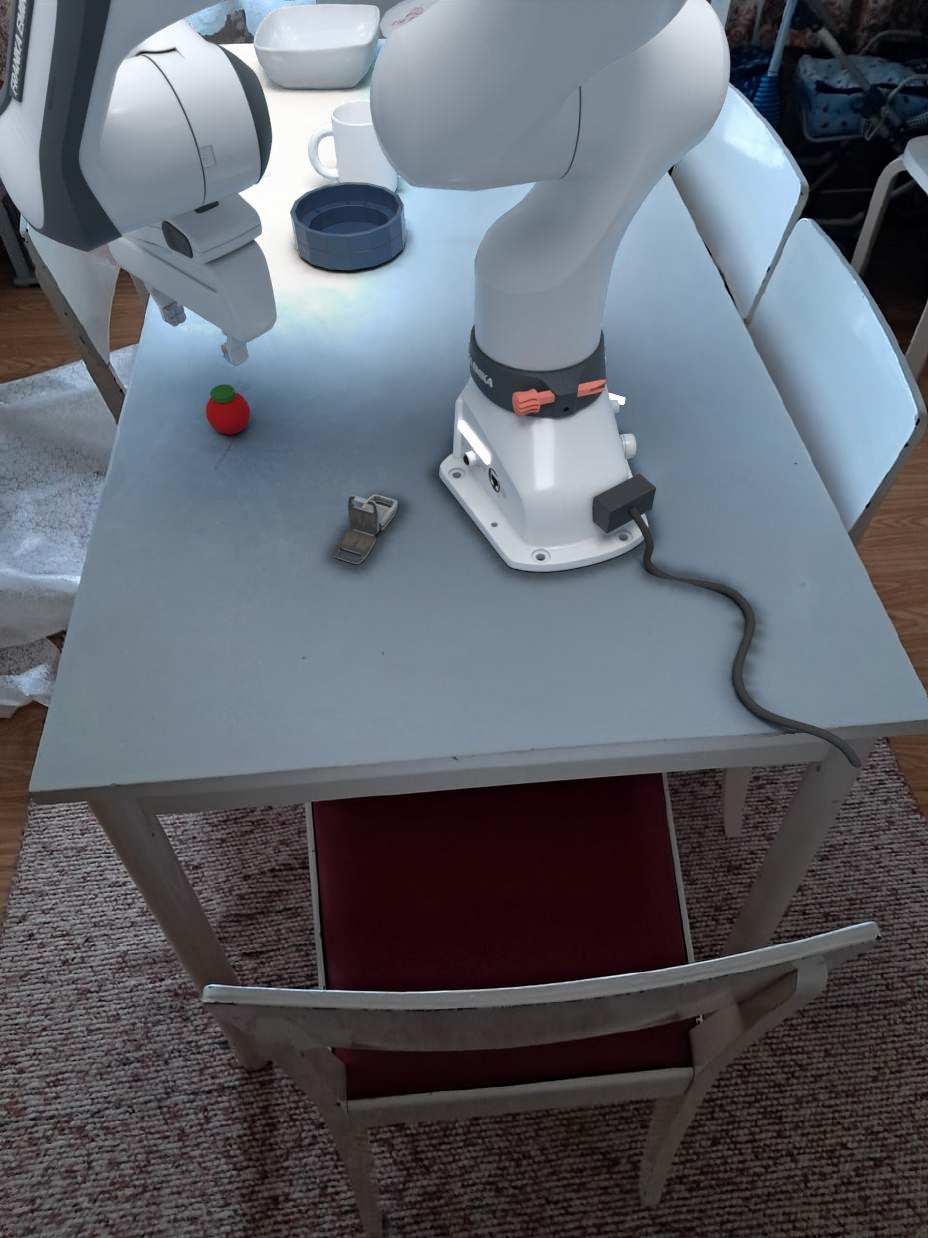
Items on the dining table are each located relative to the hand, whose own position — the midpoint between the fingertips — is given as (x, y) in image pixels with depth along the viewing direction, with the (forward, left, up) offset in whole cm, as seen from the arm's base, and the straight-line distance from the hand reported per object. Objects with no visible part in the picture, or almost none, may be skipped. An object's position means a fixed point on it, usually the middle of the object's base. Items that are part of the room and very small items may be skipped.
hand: (205, 340), depth 83 cm
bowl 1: (+92, -28, -11) cm, 97 cm away
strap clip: (-19, -10, -11) cm, 24 cm away
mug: (+48, -24, -11) cm, 55 cm away
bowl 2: (+33, -20, -11) cm, 40 cm away
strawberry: (0, 0, -11) cm, 11 cm away
